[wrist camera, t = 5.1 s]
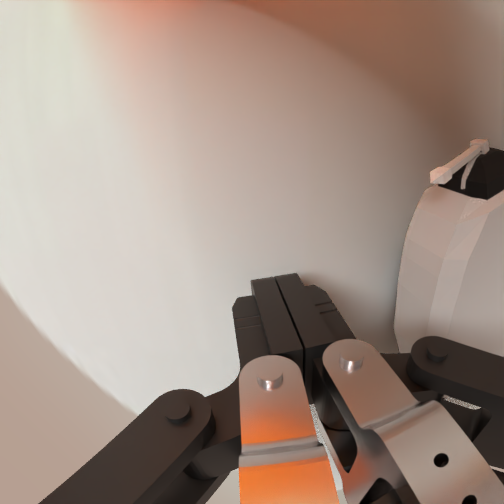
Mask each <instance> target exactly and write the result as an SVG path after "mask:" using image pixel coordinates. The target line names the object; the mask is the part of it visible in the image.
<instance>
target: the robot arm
mask: <svg viewBox="0 0 504 504" xmlns="http://www.w3.org/2000/svg"><path fill="white" fill-rule="evenodd" d="M251 289H252V296H246V297H239V298H237V299H236V301H235V303H234V305H233V307H232V311H233V318H234V325H235V332H236V339H237V346H238V353H239V359H240V372H239V375H238V377H237V378H236V380H235V381H234V382H233V383H232V384H231V385H230V386H228V387H227V388H225V389H224V390H222V391H220V392H217V393H215V394H212V395H209V396H207V397H204V396H203V395H202V394H200V393H198V392H196V391H193V390H188V389H178V390H173V391H169V392H167V393H165V394H163V395H161V396H159V397H158V398H157V399H156V400H155V401H154V402H153V403H152V404H151V405H149V406H148V407H147V408H146V409H145V410H144V411H143V412H142V413H141V414H140V415H139V416H138V417H137V418H136V419H135V420H133V422H131V423H130V424H129V425H128V426H127V427H126V428H125V429H124V430H123V431H122V432H120V433H119V434H118V435H117V436H116V437H115V438H114V439H113V440H112V441H111V442H109V443H108V444H107V445H106V446H105V447H104V448H103V449H102V450H101V451H99V452H98V453H97V454H96V455H95V456H94V457H93V458H92V459H90V461H88V462H87V463H86V464H85V465H84V466H82V467H81V468H80V469H79V470H78V471H77V472H76V473H74V474H73V475H72V476H71V477H70V478H69V479H67V480H66V481H65V482H64V483H63V484H61V485H60V486H59V487H58V488H57V489H56V490H54V491H53V492H52V493H51V494H50V495H48V496H47V497H46V498H45V499H43V500H42V501H41V502H40V503H39V504H205V503H206V502H207V501H208V500H209V499H210V497H211V496H212V495H213V494H214V492H215V491H216V490H217V489H218V487H219V486H220V485H221V484H222V482H223V481H224V480H225V479H226V478H227V476H228V475H229V473H230V471H232V470H235V469H237V468H239V483H240V484H239V485H240V504H339V500H338V495H337V491H336V487H335V483H334V479H333V475H332V471H331V467H330V463H329V459H328V455H327V452H326V449H325V447H324V445H323V444H322V443H319V441H318V438H317V435H316V431H315V427H314V423H313V419H312V415H311V410H310V406H309V405H311V404H315V407H316V410H317V412H318V416H317V425H318V428H319V430H320V433H321V435H322V437H323V439H324V441H325V443H326V445H327V448H328V450H329V452H330V454H331V456H332V458H333V460H334V463H335V465H336V467H337V469H338V471H339V473H340V476H341V479H342V483H343V491H344V495H345V498H346V501H347V503H348V504H504V473H503V472H500V471H497V470H494V469H491V468H490V466H489V465H491V466H494V467H498V468H502V469H504V357H502V356H499V355H496V354H492V353H489V352H486V351H483V350H480V349H477V348H474V347H471V346H468V345H464V344H461V343H458V342H455V341H452V340H449V339H446V338H443V337H439V336H426V337H423V338H420V339H419V340H417V341H416V342H415V343H414V344H413V346H412V348H411V352H410V353H399V354H381V353H379V352H378V351H377V350H376V349H375V347H374V346H372V345H371V344H369V343H367V342H365V341H362V340H358V339H356V338H355V336H354V335H353V333H352V332H351V330H350V328H349V327H348V325H347V324H346V322H345V321H344V319H343V318H342V316H341V315H340V313H339V311H337V308H336V307H335V305H334V304H333V303H332V301H331V299H330V298H329V296H328V295H327V293H326V292H325V291H324V290H322V289H320V288H319V287H317V286H315V285H311V286H305V287H304V285H303V283H302V281H301V280H300V278H299V276H298V274H297V273H293V274H287V275H281V276H275V277H274V278H273V277H269V278H262V279H256V280H251ZM444 395H447V396H450V397H453V398H455V399H458V400H461V401H464V402H467V403H470V404H473V405H476V406H479V407H481V408H480V409H476V410H472V409H469V408H466V407H463V406H460V405H457V404H454V403H451V402H448V401H446V400H443V399H442V398H443V397H444Z"/></svg>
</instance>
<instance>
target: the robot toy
mask: <svg viewBox="0 0 504 504" xmlns="http://www.w3.org/2000/svg"><path fill="white" fill-rule="evenodd" d="M430 183H436V185H434V186H431V187H429V188H427V189H425V191H424V193H423V195H422V197H421V199H420V201H419V203H418V205H417V206H416V209H415V212H414V215H413V218H412V220H411V222H410V224H409V227H408V230H407V234H406V238H405V242H404V247H403V252H402V257H401V265H400V271H399V278H398V286H397V299H396V310H395V320H394V332H395V336H396V340H397V344H398V348H399V352H400V353H410V352H411V348H412V346H413V344H414V343H415V342H416V341H417V340H419V339H420V338H423V337H426V336H439V337H443V338H446V339H449V340H452V341H455V342H458V343H461V344H464V345H468V346H471V347H474V348H477V349H480V350H483V351H486V352H489V353H492V354H496V355H499V356H502V357H503V356H504V151H502V150H499V149H494V148H490V147H489V141H488V140H486V139H474V140H472V141H471V142H470V148H469V149H467V150H466V151H464V152H463V153H461V154H459V155H458V156H457V157H456V158H454V159H453V160H451V161H450V162H449V163H447V164H446V165H444V166H443V167H437V168H436V169H434V170H433V171H431V172H430ZM447 397H450V396H447V395H444V397H443V398H442V399H443V400H445V399H446V398H447Z"/></svg>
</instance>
